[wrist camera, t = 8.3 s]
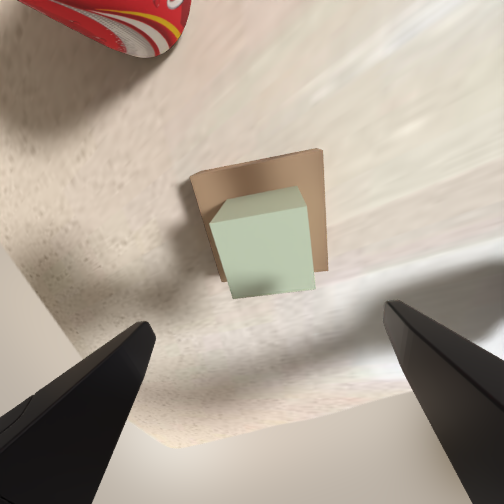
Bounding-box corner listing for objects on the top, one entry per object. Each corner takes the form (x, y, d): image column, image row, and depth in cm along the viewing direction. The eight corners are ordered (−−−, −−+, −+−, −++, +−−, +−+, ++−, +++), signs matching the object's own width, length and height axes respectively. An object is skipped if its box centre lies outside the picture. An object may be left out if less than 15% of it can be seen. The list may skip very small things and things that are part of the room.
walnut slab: (315, 147, 17) (322, 150, 14) (321, 253, 21) (328, 270, 18) (202, 170, 18) (189, 176, 16) (228, 264, 22) (221, 282, 20)
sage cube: (297, 185, 15) (306, 206, 11) (304, 250, 17) (315, 289, 13) (226, 199, 16) (209, 223, 12) (242, 259, 18) (232, 299, 14)
